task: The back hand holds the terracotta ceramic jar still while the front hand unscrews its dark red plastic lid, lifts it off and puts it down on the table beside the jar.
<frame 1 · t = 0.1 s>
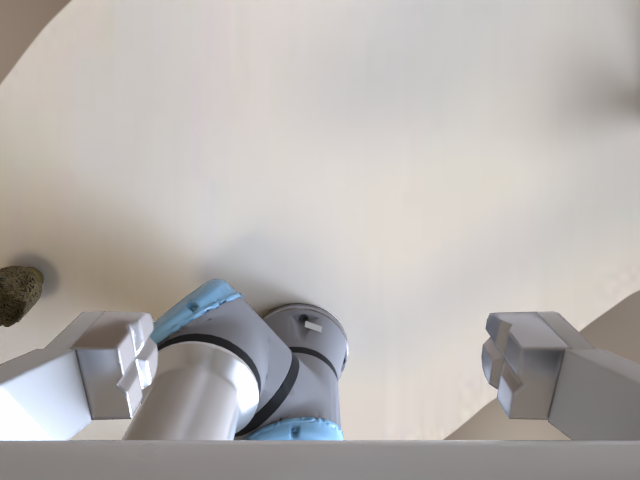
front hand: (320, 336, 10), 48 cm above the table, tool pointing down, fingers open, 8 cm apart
olive tapered piece: (34, 276, 63), on the table
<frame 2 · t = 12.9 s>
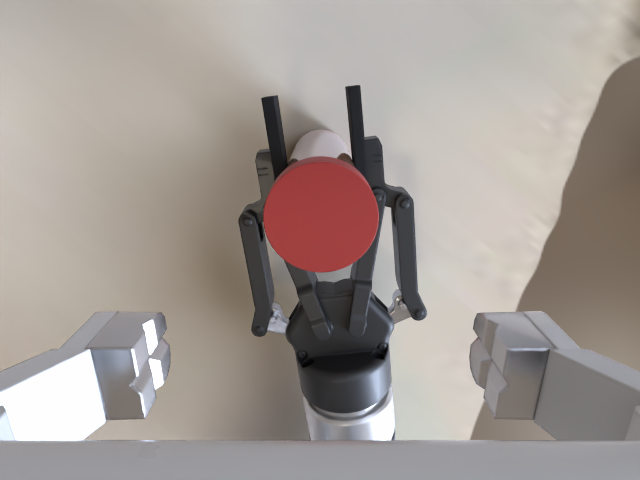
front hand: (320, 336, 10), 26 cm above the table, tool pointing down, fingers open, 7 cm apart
back hand: (310, 92, 27), fingers closed on jar, 5 cm apart
jar: (320, 157, 35), on the table, touching back hand
lid: (320, 217, 19), point 17 cm above the table, screwed on, not yet turned
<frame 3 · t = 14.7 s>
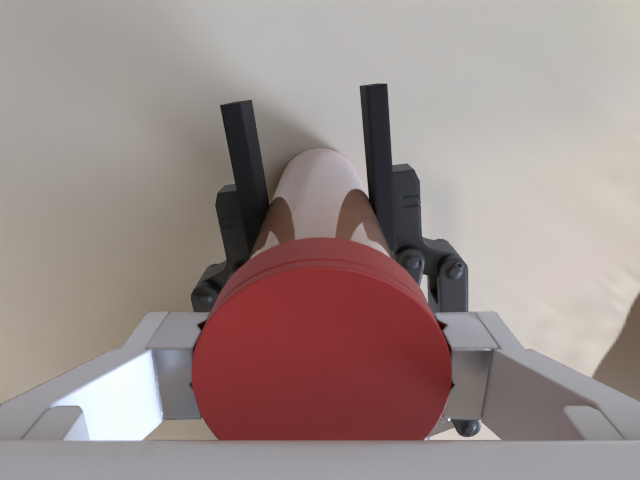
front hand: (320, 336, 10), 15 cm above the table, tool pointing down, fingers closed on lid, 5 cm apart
jar: (320, 188, 24), on the table, touching back hand
lid: (321, 374, 9), point 17 cm above the table, screwed on, not yet turned, touching front hand
when the front hand's fingers open (15 cm above the table, at t = 15.9 s): lid stays where it is, point 17 cm above the table.
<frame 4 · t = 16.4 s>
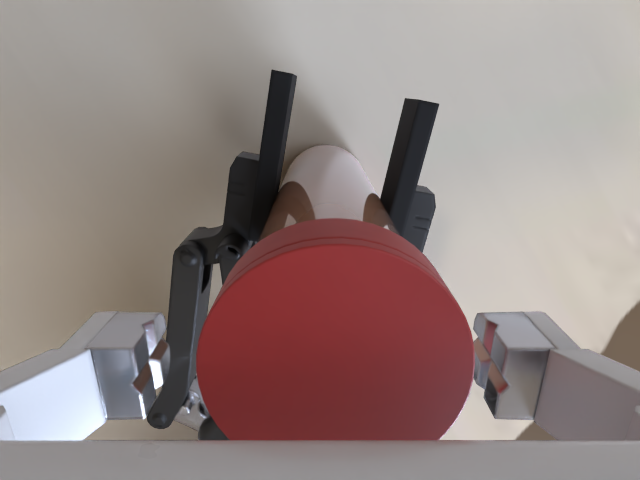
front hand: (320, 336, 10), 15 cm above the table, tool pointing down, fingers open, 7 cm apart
jar: (325, 185, 24), on the table, touching back hand
lid: (334, 364, 8), point 17 cm above the table, turned 53° so far, risen 0.1 cm, still on its thread
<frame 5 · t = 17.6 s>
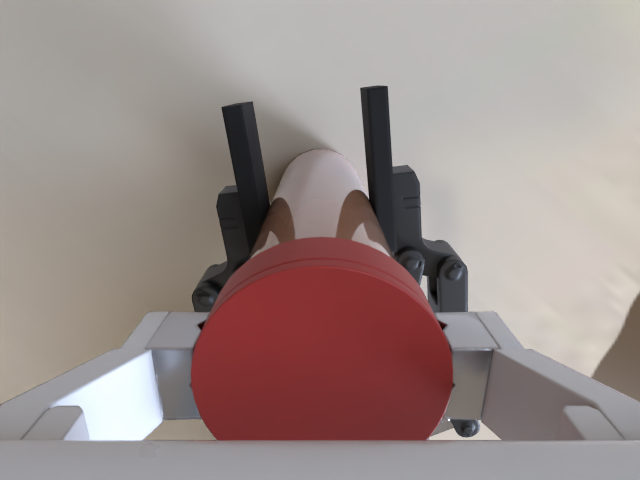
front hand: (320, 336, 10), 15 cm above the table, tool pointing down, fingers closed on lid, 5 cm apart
jar: (320, 189, 24), on the table, touching back hand
lid: (321, 375, 9), point 17 cm above the table, turned 53° so far, risen 0.1 cm, still on its thread, touching front hand
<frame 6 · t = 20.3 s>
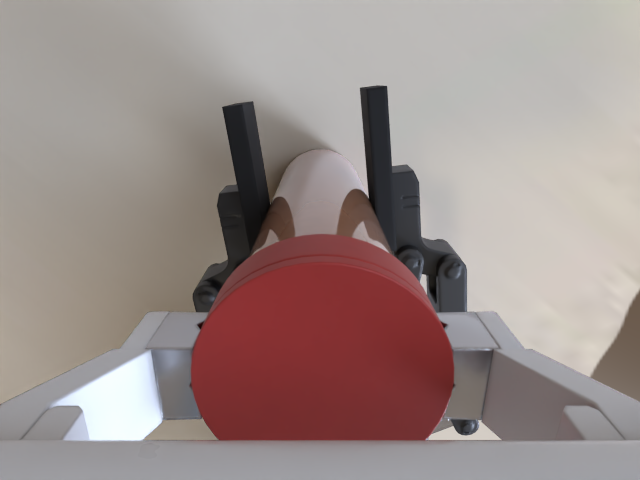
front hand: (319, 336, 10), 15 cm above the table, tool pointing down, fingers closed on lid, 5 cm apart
jar: (320, 189, 25), on the table, touching back hand
lid: (322, 372, 9), point 17 cm above the table, turned 105° so far, risen 0.2 cm, still on its thread, touching front hand
when the front hand's fingers open (2 cm above the table, at t = 26.8 s): lid drops 2 cm, point 1 cm above the table.
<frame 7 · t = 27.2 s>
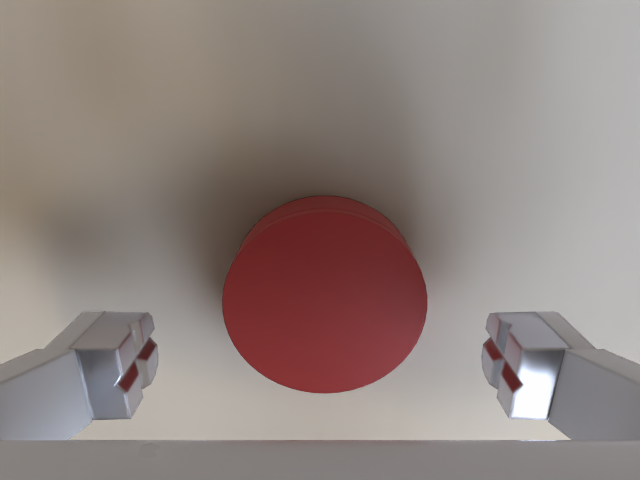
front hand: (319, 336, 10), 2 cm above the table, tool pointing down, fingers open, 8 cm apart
lid: (324, 304, 11), point 1 cm above the table, off its thread
when the back hand's fingers open (6 cm above the table, at t = 27.6 s): jar stays where it is, on the table.
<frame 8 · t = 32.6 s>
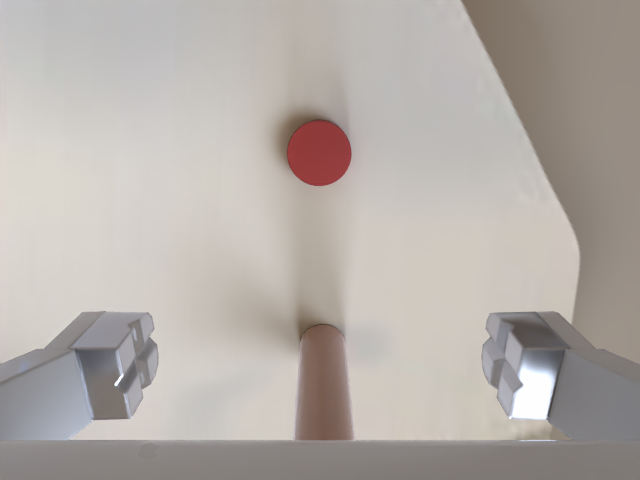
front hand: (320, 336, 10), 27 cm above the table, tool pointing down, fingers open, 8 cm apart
jar: (322, 344, 43), on the table
lid: (319, 153, 35), point 1 cm above the table, off its thread
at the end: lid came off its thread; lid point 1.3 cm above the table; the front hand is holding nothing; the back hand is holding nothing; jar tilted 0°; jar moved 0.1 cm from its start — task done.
